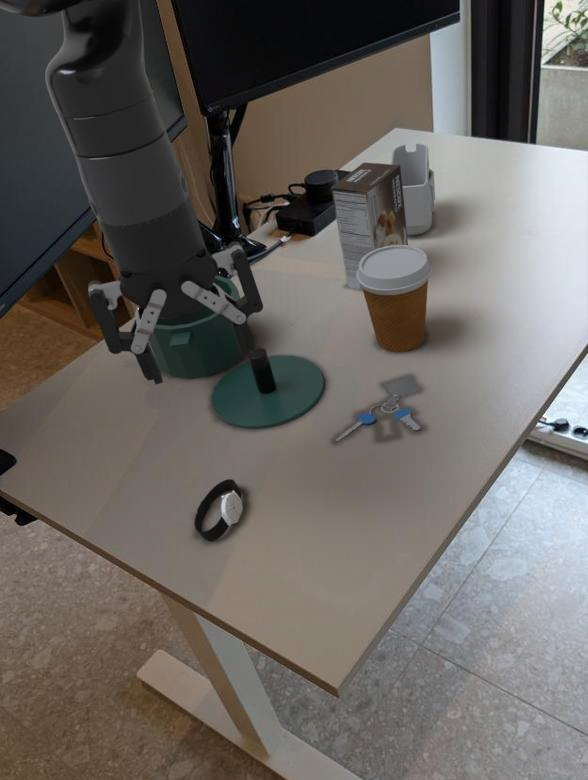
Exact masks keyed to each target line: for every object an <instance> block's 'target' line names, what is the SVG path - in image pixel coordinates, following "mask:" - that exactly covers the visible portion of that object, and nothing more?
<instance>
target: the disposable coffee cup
mask: <svg viewBox="0 0 588 780" xmlns="http://www.w3.org/2000/svg"><path fill="white" fill-rule="evenodd" d="M431 273H432V263H431V262H430V260H429V258H428V256H427V253H426V252H425V251H424V250H422V249H421V248H419V247H416V246H412V245H409V244H408V245H392V246H386V247H382V248H379V249H376V250H373V251H371V252H369V253H368V254H366V255H365V256H364V257H363V258H362V259H361V261H360V262H359V269H358V270H357V274H356V276H357V280H358V282H359V283H360V285H361V287H362V289H363V290H362V289H361V290H362V292H363V293H362V294H363V296H364V299H365V302H366V303H365V304H366V306H367V310H368V313H369V317H370V321H371V324H372V328H373V331H374V334H375V339H376V341H377V344H378V346H379V347H380V348H381V349H383V350H384V351H386V352H390V353H405V352H409V351H412V350H414V349H416V348H418V347H419V346H421V344H422V343H424V340H425V333H426V332H425V331H426V319H427V318H426V317H427V302H428V287H429V285H428V284H429V279H430V275H431Z"/></svg>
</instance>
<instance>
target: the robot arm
mask: <svg viewBox="0 0 588 780" xmlns="http://www.w3.org/2000/svg"><path fill="white" fill-rule="evenodd" d="M1 9H2V10H4V11H7V12H9V13H12V14H16V15H19V16H24V17H28V18H29V17H30V18H43V17H50V16H53V15H56V14H58V13H61V19H62V27H63V42H62V45H61V46H60V49H59V50H58V52H57V53H56V54H55V55H54V56H53V57H52V59H51V60H50V61H49V63H48V64H47V66H46V68H45V73H44V77H45V84H46V88H47V92H48V95H49V97H50V99H51V102H52V105H53V107H54V110H55V112H56V113H57V114H56V115H57V116H58V119H59V122H60V124H61V126H62V128H63V131H64V133H65V136H66V139H67V140H68V143H69V145H70V148H71V150H72V152H73V155H74V159H75V161H76V164H77V168H78V173H79V176H80V179H81V183H82V185H83V188H84V191H85V193H86V196H87V198H88V204H89V207H90V208H91V211H92V213H93V214H94V215H95V217H96V219H97V222H98V224H99V227H100V229H101V232H102V234H103V236H104V238H105V241H106V244H107V246H108V248H109V250H110V253H111V255H112V258H113V260H114V262H115V265H116V267H117V270H118V273H119V278H118V280H115V281H114V280H113V281H110V282H105V283H102V282H101V281H99V280H91V281H90V282H89V283H88V286H87V288H88V300H89V303H90V306H91V308H92V312H93V314H94V316H95V319H96V321H97V324H98V327H99V329H100V332H101V334H102V337H103V339H104V342H105V344H106V347H107V349H108V352H109V353H111V354H113V355H118V354H121V353H122V352H129V353H131V354H133V355H134V356H135V359H136V361H137V363H138V365H139V368H140V371H141V372H142V375H143V377H144V378H145V379H146V380H147V381H152V380H153V382H154V384H155V385H159V384H163V383H164V380H163V376H162V375H163V374H162V371H161V369H160V367H159V364H158V362H157V360H156V357H155V355H154V353H153V350H152V348H151V345H150V343H149V341H148V340H149V337H150V335H151V334H152V333H153V330H154V328H155V325H156V322H157V320H158V318H165V319H166V321H167V320H170V319H174V318H176V317H178V316H179V315H181V314H189V313H195V312H198V311H200V308H201V307H202V306H203V305H205V306H207V307H208V308H210V309H211V310H213V311H214V312H216V313H217V314H222V315H224V316H225V317H227V318H228V319H230V321H231V324H232V327H233V330H234V334H235V337H236V340H237V343H238V347H239V350H240V352H241V355H242V359H244V358H248V356H249V352H250V351H251V350H253V349H254V346H255V345H254V340H253V338H252V337H253V336H252V333H251V331H250V327H248V326H249V323H248V319H249V317H250V316H252V314H257V313H260V312H262V310H263V309H264V303H263V301H262V298H261V295H260V292H259V289H258V286H257V283H256V279H255V277H254V274H253V271H252V268H251V265H250V261H249V259H248V256H247V254H246V252H245V250H244V248H243V245H242V244H241V243H240V242H239V241H236V240H235V241H231V242H230V243H229V244H228V247H227V248H228V249H224V250H222V251H219V252H215V253H212V252H210V251H209V250H208V248H207V246H206V243H205V240H204V236H203V233H202V230H201V227H200V224H199V221H198V217H197V215H196V211H195V208H194V205H193V202H192V199H191V196H190V191H189V188H188V186H189V185H188V182H187V179H186V177H185V175H184V173H183V170H182V166H181V163H180V160H179V158H178V157H179V156H178V155H177V153H176V150H175V149H174V146H173V144H172V141H171V140H170V137H169V135H168V132H167V129H166V126H165V123H164V120H163V117H162V114H161V110H160V107H159V104H158V101H157V98H156V95H155V91H154V87H153V85H152V82H151V80H150V77H149V75H148V70H147V67H146V55H145V39H144V29H143V28H144V27H143V18H142V10H141V9H142V7H141V0H0V10H1ZM219 268H220V269H224V270H225V271H226V272H227V273H228V275H230V276H232V277H233V276H237V278H238V280H239V283H240V286H241V289H242V291H243V296H242V297H240V299H239V300H236V299H234V298H233V297H231V296H230V295H228V294H227V293H225V292H224V291H223V290H222V289H221V288H220V287H219V286H218V285H216V284H215V283H214V280H215V277H216V276H218V275H217V274H218V270H219ZM121 296H123V297H124V298H125V299H126V300H128V301H130V302H131V303H133V304H134V305H136V308H135V312H134V317H133V321H132V323H131V326H130V329H129V331H120V329H119V325H118V322H117V319H116V318H115V317H116V316H115V315H114V312H113V311H114V310H115V309H117V308H118V298H119V297H121ZM248 350H249V351H248Z"/></svg>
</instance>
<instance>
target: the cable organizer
mask: <svg viewBox="0 0 588 780" xmlns="http://www.w3.org/2000/svg"><path fill="white" fill-rule="evenodd" d="M429 155H430V154H429V147H428V146H427V145H426V144H424V143H421V142H420V143H419V142H416V143H415V150H411V151H407V148H406V144H401V145H399V146H397V147H395V148H394V149H393V150H392V151H391V159H390V165H400V166H401V177H402V187H403V198H404V208H405V218H406V228H407V236H418V235H422V234H424V233H426V232H428V231H429V230H430V228H431V227H432V222H433V221H432V220H433V212H435V200H436V187H435V185H436V184H435V173H434V171H433V170H432V169H430V157H429Z"/></svg>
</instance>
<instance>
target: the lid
mask: <svg viewBox="0 0 588 780" xmlns="http://www.w3.org/2000/svg"><path fill="white" fill-rule="evenodd" d="M248 352H249V356H248V357H247V358H248V361H247V362H245V363H242V364H241V365H238V366H237V367H235V368H233V369H231V370H230V371H229V372H228V373H226V374H225V375H224V376H222V378H221V379H220V380H219V381H218V383H217V384H216V385H215V387H214V389H213V391H212V394H211V405H212V408H213V411H214V413H215V415H216V416H217V417H218V418H219V419H220V420H221V421H223V422H224V423H226V424H228V425H230V426H233V427H236V428H240V429H247V430H249V429H250V430H251V429H254V430H259V429H267V428H273V427H277V426H280V425H283V424H287V423H289V422H291V421H294V420H296V419H297V418H299V417H301V416H303V415H304V414H305V413H307V412H309V410H310V409H312V408H313V407H314V406H315V405H316V404H317V402H318V401H319V399H320V398H321V395H322V394H323V391H324V387H325V381H324V376H323V373H322V371H321V370H320V368H319V367H318V366H317V365H316V364H314V363H313V362H312V361H310V360H309V359H306V358H304V357H299V356H295V355H289V354H287V355H286V354H277V355H268V350H267V349H266V348H265V347H255V348H253V349H252V350H249V351H248Z"/></svg>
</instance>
